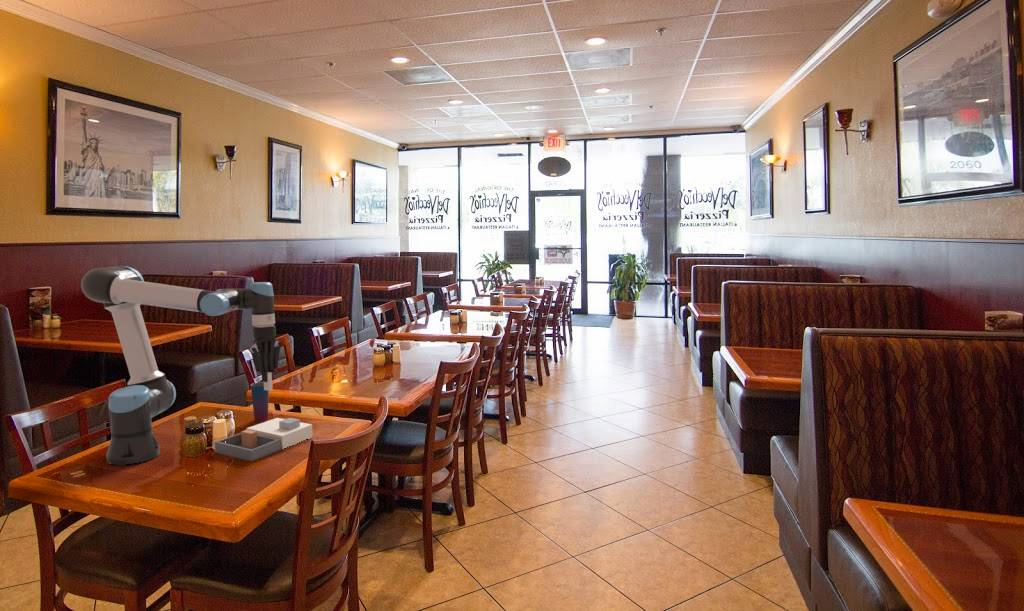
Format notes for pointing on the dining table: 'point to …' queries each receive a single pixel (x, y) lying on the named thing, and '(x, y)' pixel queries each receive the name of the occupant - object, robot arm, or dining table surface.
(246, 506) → the dining table surface
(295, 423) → the slate tile
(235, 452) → the box
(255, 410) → the cup
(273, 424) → the raised board
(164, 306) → the robot arm
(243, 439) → the terracotta tile
